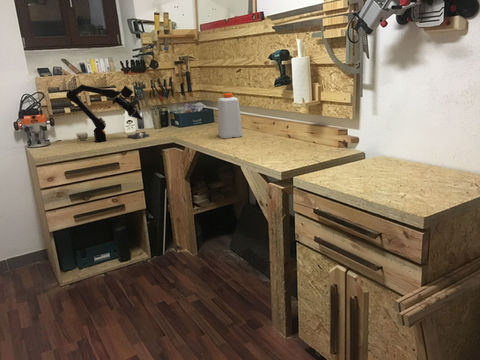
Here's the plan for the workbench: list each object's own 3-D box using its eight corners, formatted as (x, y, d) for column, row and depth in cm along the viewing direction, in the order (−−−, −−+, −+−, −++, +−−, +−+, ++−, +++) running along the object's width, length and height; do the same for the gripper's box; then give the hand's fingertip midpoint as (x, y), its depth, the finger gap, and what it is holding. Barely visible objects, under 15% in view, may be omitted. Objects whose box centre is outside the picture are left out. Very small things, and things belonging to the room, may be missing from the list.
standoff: (139, 129, 270) (138, 111, 267) (136, 128, 273) (135, 111, 270) (145, 128, 273) (143, 111, 269) (142, 127, 276) (140, 110, 272)
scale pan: (135, 135, 273) (135, 134, 273) (129, 134, 279) (129, 133, 279) (145, 133, 279) (145, 132, 278) (139, 132, 284) (139, 131, 284)
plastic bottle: (238, 133, 274) (236, 92, 265) (244, 137, 260) (242, 93, 251) (217, 135, 270) (214, 93, 262) (221, 139, 256) (219, 95, 248)
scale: (136, 139, 270) (135, 133, 269) (127, 137, 279) (126, 131, 278) (150, 136, 277) (149, 130, 276) (141, 134, 286) (140, 129, 285)
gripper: (131, 95, 257) (149, 111, 262) (132, 93, 274) (149, 108, 280) (119, 108, 257) (139, 124, 263) (121, 105, 275) (139, 120, 280)
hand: (142, 118), depth 271 cm, fingers closed on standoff, 4 cm apart
